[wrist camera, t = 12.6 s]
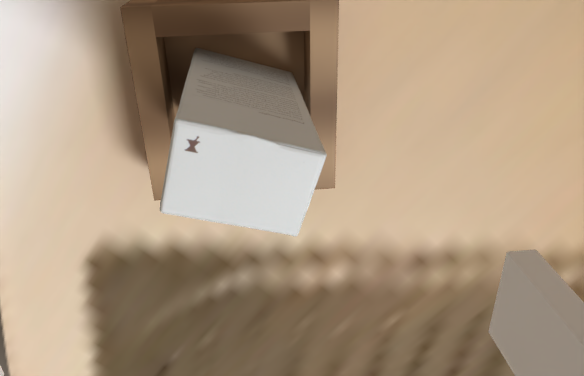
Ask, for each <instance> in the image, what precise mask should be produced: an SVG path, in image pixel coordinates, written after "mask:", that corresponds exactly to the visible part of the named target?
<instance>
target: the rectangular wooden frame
mask: <svg viewBox="0 0 584 376" xmlns="http://www.w3.org/2000/svg"><path fill="white" fill-rule="evenodd" d="M120 8H121V14H122V20H123V25H124V31H125V37H126V42H127V48H128V54H129V59H130V65H131V71H132V76H133V82H134V88H135V93H136V99H137V105H138V110H139V116H140V122H141V127H142V133H143V139H144V144H145V150H146V156H147V161H148V167H149V173H150V178H151V184H152V190H153V195H154V200H161V196H162V190H163V184H164V178H165V172H166V166H167V161H168V155H169V149H170V143H171V137H172V130H173V124H174V119H175V117H176V114H177V111H178V108H179V104H180V100H181V96H182V93H183V89H184V85H185V82H186V78H187V75H188V71H189V68H190V64H191V61H192V57H193V53H194V50H195V49H196V48H200V49H203V50H208V51H211V52H215V53H219V54H223V55H227V56H231V57H235V58H238V59H242V60H246V61H250V62H254V63H258V64H262V65H265V66H269V67H273V68H277V69H281V70H284V71H288V72H291V73H292V74H293V76H294V78H295V80H296V83H297V85H298V88H299V90H300V92H301V95H302V97H303V100H304V102H305V105H306V107H307V109H308V112H309V114H310V117H311V119H312V122H313V124H314V126H315V129H316V131H317V133H318V136H319V138H320V140H321V143H322V145H323V147H324V149H325V151H326V154H327V156H326V159H325V162H324V165H323V168H322V170H321V173H320V176H319V179H318V182H317V184H316V187H315V189H329V188H335V163H336V115H337V67H338V19H339V0H131V1H129V2H128V3H126V4H125V5H123V6H122V7H120Z"/></svg>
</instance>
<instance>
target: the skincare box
mask: <svg viewBox="0 0 584 376" xmlns="http://www.w3.org/2000/svg"><path fill="white" fill-rule="evenodd" d="M326 156H327V154H326V151H325V149H324V147H323V145H322V143H321V140H320V138H319V136H318V133H317V131H316V129H315V126H314V124H313V122H312V119H311V117H310V114H309V112H308V109H307V107H306V105H305V102H304V100H303V97H302V95H301V92H300V90H299V88H298V85H297V83H296V80H295V78H294V76H293V74H292V73H291V72H288V71H284V70H281V69H277V68H273V67H269V66H265V65H262V64H258V63H254V62H250V61H246V60H242V59H238V58H235V57H231V56H227V55H223V54H219V53H215V52H211V51H208V50H203V49H200V48H196V49H195V50H194V53H193V57H192V61H191V64H190V68H189V71H188V75H187V78H186V82H185V85H184V89H183V93H182V96H181V100H180V104H179V108H178V111H177V114H176V117H175V119H174V124H173V130H172V137H171V143H170V149H169V155H168V161H167V166H166V172H165V178H164V184H163V190H162V196H161V202H160V211H161V212H162V213H165V214H171V215H177V216H182V217H188V218H194V219H199V220H205V221H211V222H217V223H223V224H229V225H235V226H241V227H247V228H253V229H258V230H264V231H270V232H276V233H281V234H287V235H292V236H298V234H299V231H300V228H301V225H302V223H303V220H304V217H305V214H306V212H307V209H308V206H309V204H310V201H311V198H312V195H313V192H314V190H315V187H316V184H317V182H318V179H319V176H320V173H321V170H322V168H323V165H324V162H325V159H326Z"/></svg>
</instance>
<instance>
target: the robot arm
mask: <svg viewBox="0 0 584 376" xmlns="http://www.w3.org/2000/svg"><path fill="white" fill-rule="evenodd" d="M489 333H490V335H491V337H492V338H493V340H494V342H495V343H496V345H497V347H498V348H499V350H500V351H501V353H502V355H503V356H504V358H505V360H506V361H507V363H508V365H509V366H510V368H511V370H512V371H513V373H514V374H515V376H584V302H583V301H582V300H581V299H580V298H579V297H578V296H577V295H576V293H575V292H574V291H573V290H572V289H571V288H570V287H569V286H568V285H567V283H566V282H565V281H564V280H563V279H562V278H561V277H560V276H559V275H558V274H557V272H556V271H555V270H554V269H553V268H552V267H551V266H550V265H549V264H548V262H547V261H546V260H545V259H544V258H543V257H542V256H541V255H540V254H539V253H538V251H537V250H524V251H510V252H507V254H506V258H505V262H504V267H503V271H502V275H501V280H500V284H499V289H498V293H497V297H496V302H495V306H494V310H493V315H492V319H491V323H490V328H489ZM0 376H4V373H3V370H2V368H1V366H0Z"/></svg>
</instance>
